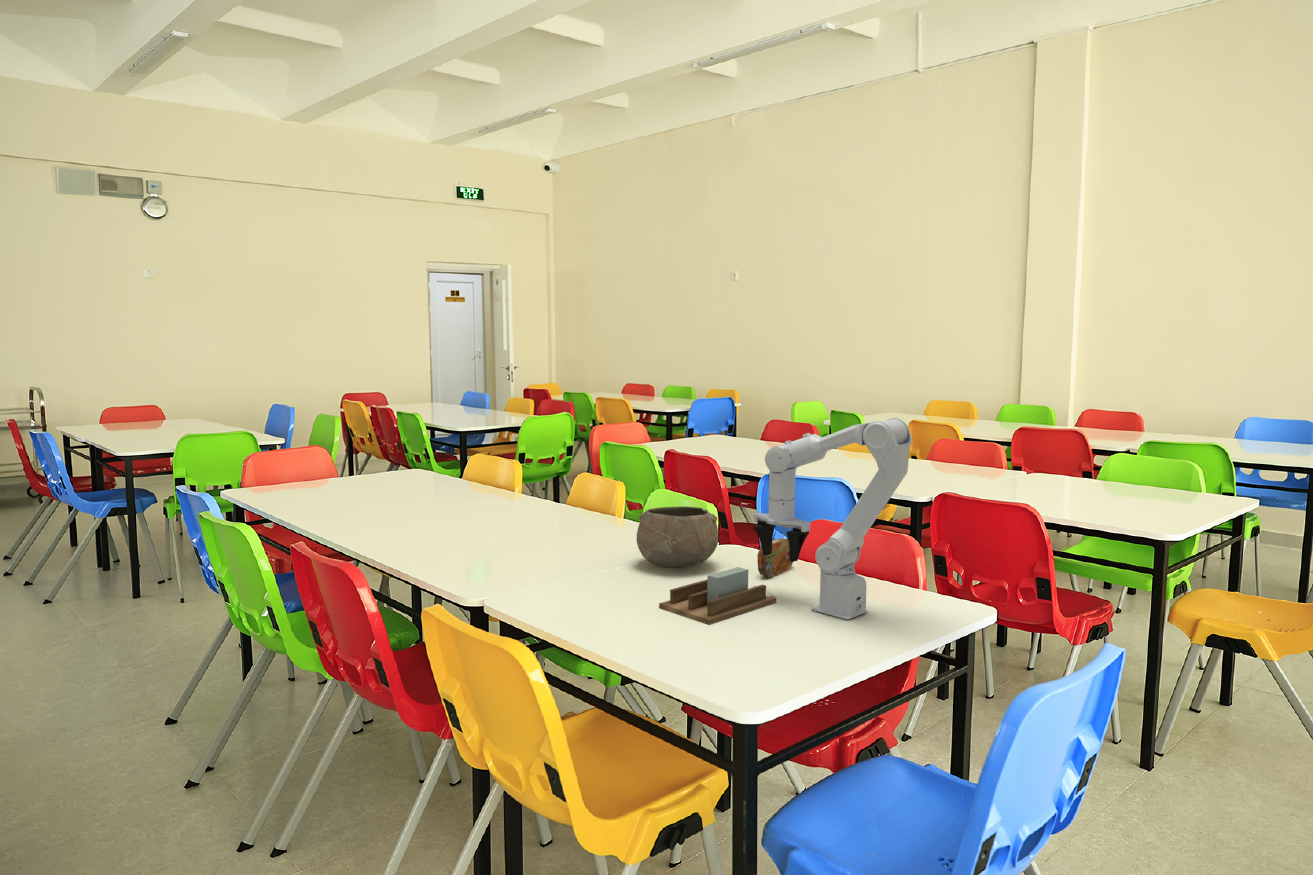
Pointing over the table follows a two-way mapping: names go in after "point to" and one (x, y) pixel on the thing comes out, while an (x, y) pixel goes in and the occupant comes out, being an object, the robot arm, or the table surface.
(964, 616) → the table surface
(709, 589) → the grey stone cuboid
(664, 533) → the clay pot
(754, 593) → the rack
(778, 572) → the tin
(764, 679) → the table surface
